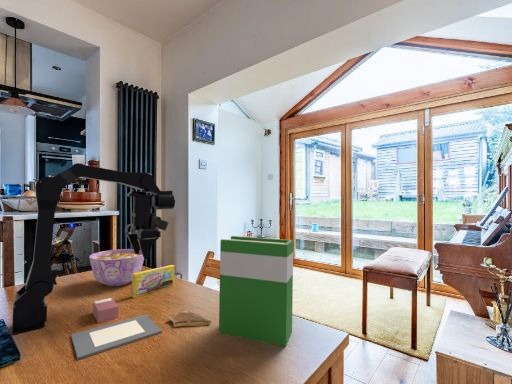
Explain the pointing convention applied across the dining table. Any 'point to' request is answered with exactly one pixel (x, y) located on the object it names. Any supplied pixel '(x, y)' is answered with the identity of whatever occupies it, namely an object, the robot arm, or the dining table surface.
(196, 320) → the shard
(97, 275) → the bowl of food
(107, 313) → the pink and white block
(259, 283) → the green cereal box
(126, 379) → the dining table surface
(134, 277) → the candy box
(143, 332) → the mat
